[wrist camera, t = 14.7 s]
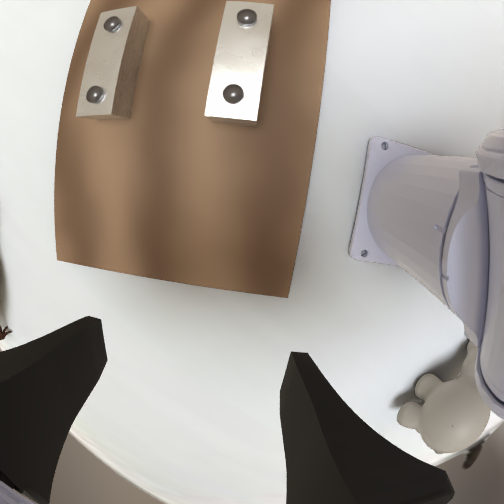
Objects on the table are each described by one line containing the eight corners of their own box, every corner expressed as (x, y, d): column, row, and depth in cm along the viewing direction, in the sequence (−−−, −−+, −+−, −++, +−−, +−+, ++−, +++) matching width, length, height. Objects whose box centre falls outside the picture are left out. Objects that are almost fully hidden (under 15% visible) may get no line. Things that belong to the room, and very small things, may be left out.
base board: (331, -63, 10) (333, -70, 9) (286, 291, 19) (287, 297, 18) (128, -63, 10) (124, -68, 9) (64, 255, 19) (57, 260, 18)
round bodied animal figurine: (471, 342, 24) (529, 358, 16) (414, 434, 22) (465, 468, 14) (450, 311, 22) (520, 326, 14) (383, 418, 21) (443, 462, 13)
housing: (272, 23, 13) (274, 1, 10) (256, 126, 15) (256, 119, 12) (117, 26, 13) (98, 10, 10) (97, 120, 15) (72, 116, 12)
